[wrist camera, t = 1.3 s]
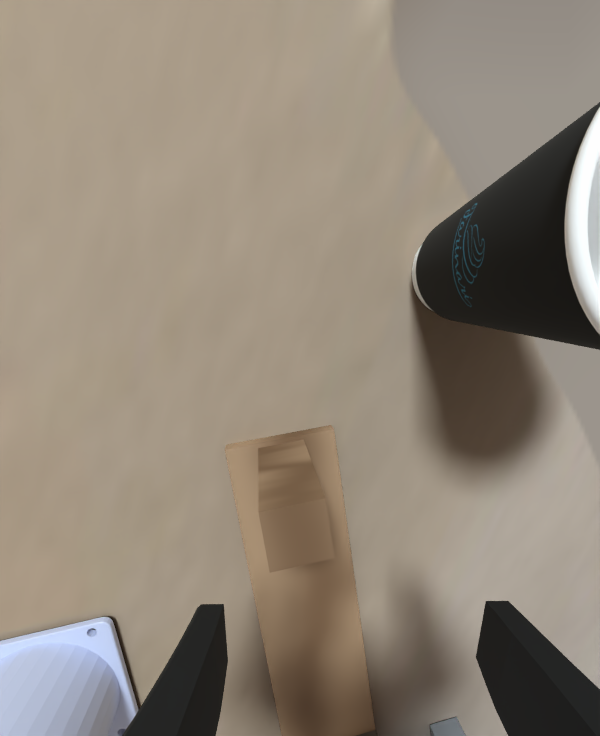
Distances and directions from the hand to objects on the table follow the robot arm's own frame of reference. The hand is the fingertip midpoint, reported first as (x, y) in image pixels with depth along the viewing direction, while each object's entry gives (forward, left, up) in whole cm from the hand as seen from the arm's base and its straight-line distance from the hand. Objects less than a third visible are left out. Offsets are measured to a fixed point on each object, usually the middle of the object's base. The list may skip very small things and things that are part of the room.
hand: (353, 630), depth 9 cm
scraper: (-1, -9, -10) cm, 14 cm away
